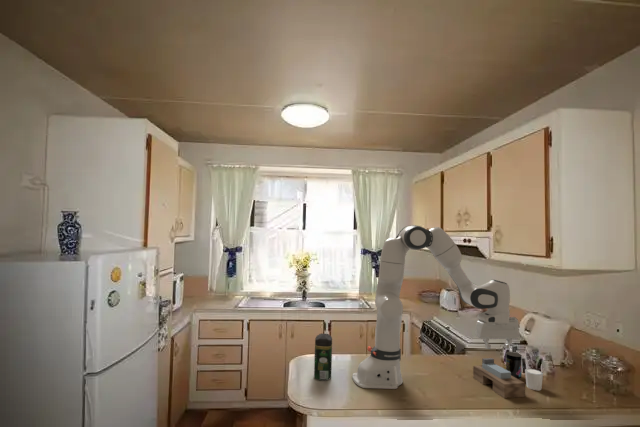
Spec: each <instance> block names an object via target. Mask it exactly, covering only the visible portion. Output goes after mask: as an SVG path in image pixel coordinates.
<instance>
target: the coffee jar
mask: <svg viewBox="0 0 640 427" xmlns="http://www.w3.org/2000/svg"><path fill="white" fill-rule="evenodd" d="M332 358H333V337H332V336H331V335H330V334H329V333H319V334H317V335H316V336H315V339H314V363H313V365H314V366H313V367H314V368H313V369H314V371H313V376H314V379H316V380H319V381H328V380H330V379H331V378H332V368H333V366H332V362H333V361H332V360H333V359H332Z"/></svg>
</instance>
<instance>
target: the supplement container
mask: <svg viewBox="0 0 640 427" xmlns="http://www.w3.org/2000/svg"><path fill="white" fill-rule="evenodd" d="M522 360H523V357H522V354H521V353H518V352H514V351H507V352H505V369H506V370H507V371H509V372H511V376H513V377H515V378H517V379H519V380H521V378H522V373H523V372H522V370H523V369H522V367H523V366H522V364H523V363H522Z"/></svg>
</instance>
